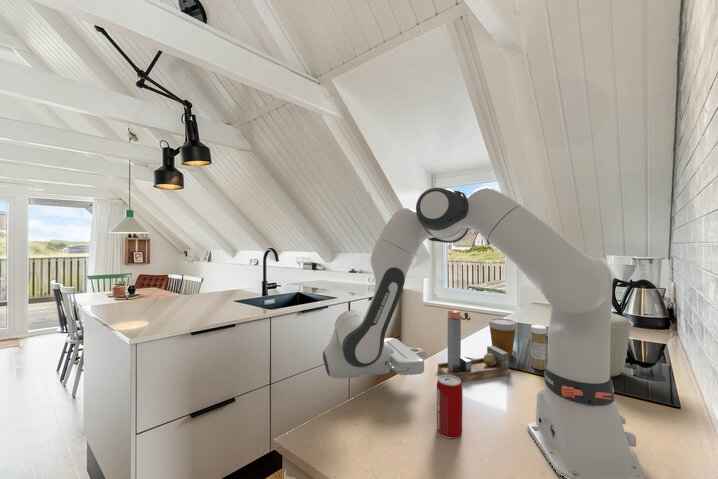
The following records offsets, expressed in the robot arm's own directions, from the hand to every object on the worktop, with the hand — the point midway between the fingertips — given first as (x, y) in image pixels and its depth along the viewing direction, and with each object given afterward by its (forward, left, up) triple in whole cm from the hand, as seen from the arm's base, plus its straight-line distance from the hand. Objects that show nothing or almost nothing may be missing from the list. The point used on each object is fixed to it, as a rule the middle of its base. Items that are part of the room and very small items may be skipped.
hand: (423, 352), depth 98 cm
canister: (+24, -51, -9) cm, 57 cm away
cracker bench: (+10, -14, -8) cm, 19 cm away
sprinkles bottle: (+21, -34, -9) cm, 41 cm away
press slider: (+6, -9, -7) cm, 13 cm away
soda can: (-24, -8, -9) cm, 27 cm away
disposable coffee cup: (+30, -24, -9) cm, 40 cm away
